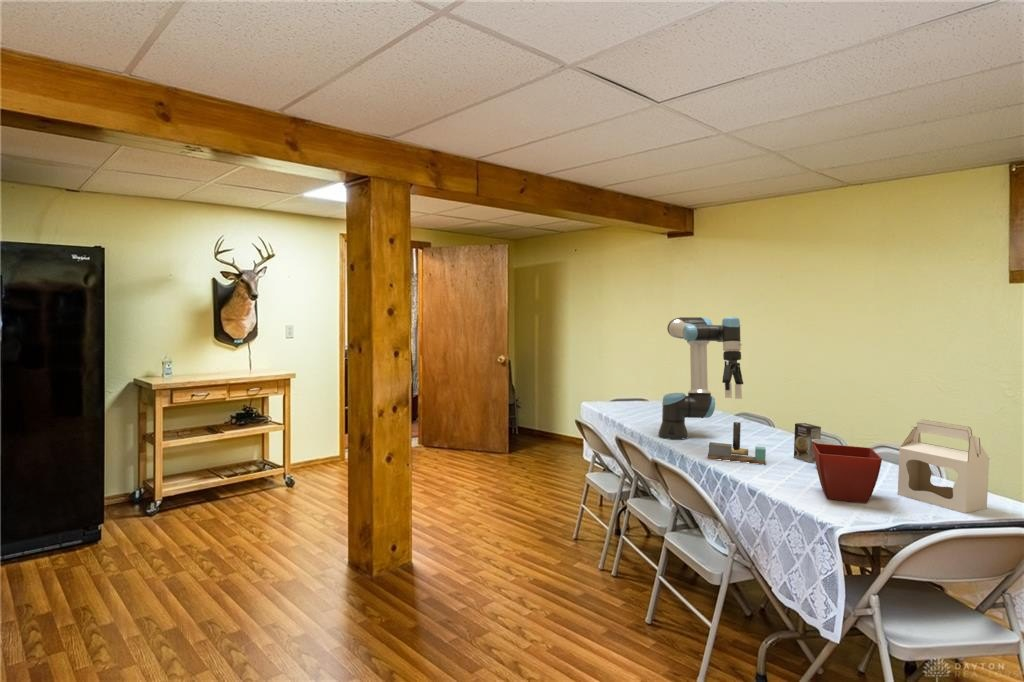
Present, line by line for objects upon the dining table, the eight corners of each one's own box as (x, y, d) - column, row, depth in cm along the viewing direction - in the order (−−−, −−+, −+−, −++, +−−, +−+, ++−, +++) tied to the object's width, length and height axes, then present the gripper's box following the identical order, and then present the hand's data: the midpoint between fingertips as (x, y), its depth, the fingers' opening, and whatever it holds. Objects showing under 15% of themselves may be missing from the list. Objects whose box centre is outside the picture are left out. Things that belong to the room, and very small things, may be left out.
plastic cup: (844, 472, 235) (845, 444, 235) (818, 472, 235) (819, 443, 235) (830, 465, 246) (831, 438, 245) (805, 465, 246) (806, 438, 246)
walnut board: (707, 458, 255) (707, 455, 255) (708, 455, 262) (708, 452, 262) (765, 464, 246) (765, 461, 246) (764, 461, 253) (764, 457, 253)
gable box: (896, 494, 207) (899, 418, 206) (917, 490, 212) (921, 416, 211) (966, 513, 187) (970, 430, 185) (988, 508, 192) (992, 427, 191)
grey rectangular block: (708, 455, 256) (709, 444, 256) (709, 452, 261) (709, 442, 260) (731, 457, 252) (731, 446, 252) (731, 455, 257) (731, 444, 257)
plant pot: (811, 485, 216) (812, 442, 215) (869, 492, 209) (871, 447, 208) (817, 500, 198) (818, 453, 198) (880, 508, 191) (882, 459, 190)
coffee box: (792, 457, 259) (794, 423, 258) (803, 457, 261) (805, 422, 260) (808, 462, 250) (810, 427, 250) (820, 461, 252) (821, 426, 252)
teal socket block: (755, 459, 249) (755, 448, 248) (755, 457, 253) (755, 446, 253) (765, 460, 247) (765, 449, 247) (764, 458, 252) (765, 447, 251)
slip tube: (714, 453, 256) (715, 421, 255) (715, 451, 259) (716, 420, 258) (748, 456, 251) (749, 424, 250) (748, 454, 253) (749, 423, 253)
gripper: (731, 348, 243) (732, 397, 241) (749, 353, 262) (750, 398, 260) (713, 349, 248) (715, 397, 245) (732, 354, 267) (734, 399, 264)
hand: (733, 398), depth 252 cm, fingers open, 13 cm apart
